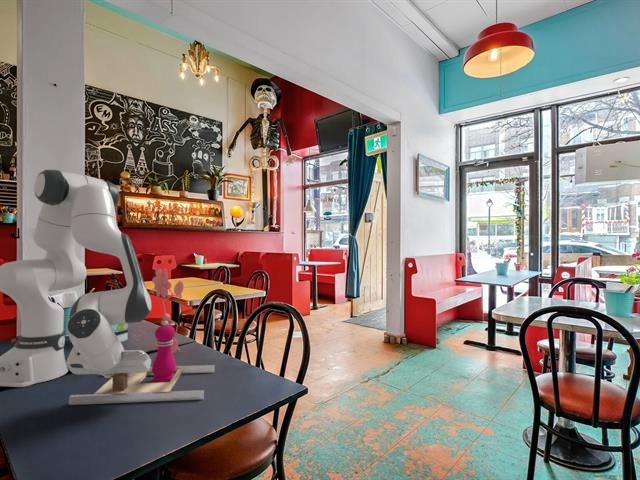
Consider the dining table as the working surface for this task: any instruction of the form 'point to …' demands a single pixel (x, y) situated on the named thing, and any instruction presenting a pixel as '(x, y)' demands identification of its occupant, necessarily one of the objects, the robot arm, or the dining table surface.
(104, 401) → the runner track
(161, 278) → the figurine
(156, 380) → the pepper mill
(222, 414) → the dining table surface
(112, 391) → the beige piece
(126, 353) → the robot arm
